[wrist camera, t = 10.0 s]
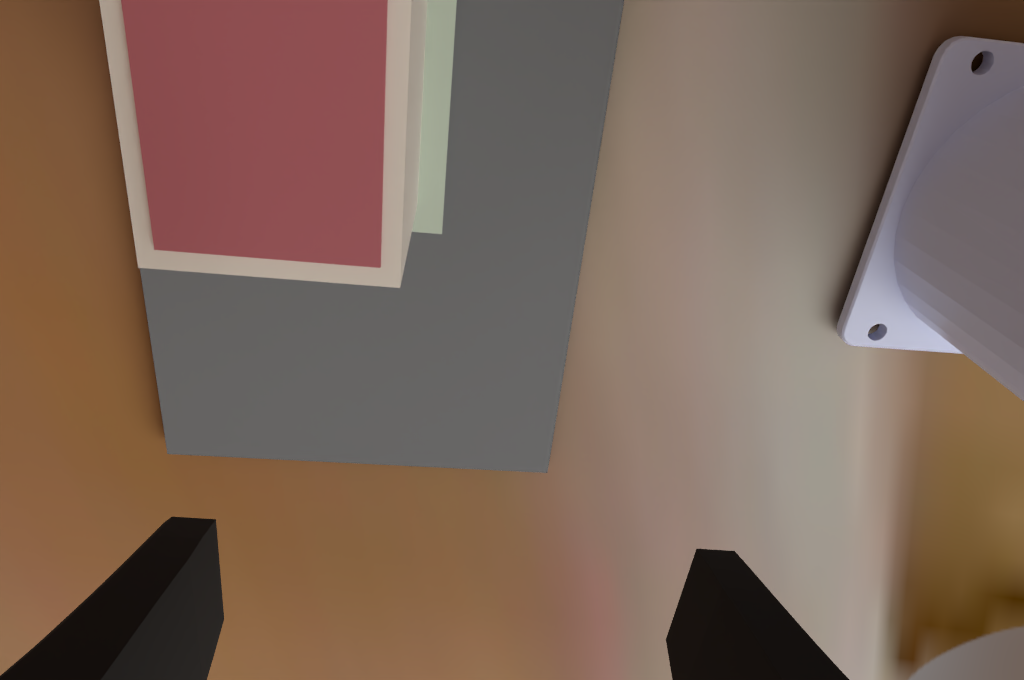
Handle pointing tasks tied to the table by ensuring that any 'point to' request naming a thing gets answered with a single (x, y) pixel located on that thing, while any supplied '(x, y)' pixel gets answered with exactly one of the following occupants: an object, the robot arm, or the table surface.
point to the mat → (421, 275)
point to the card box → (270, 134)
